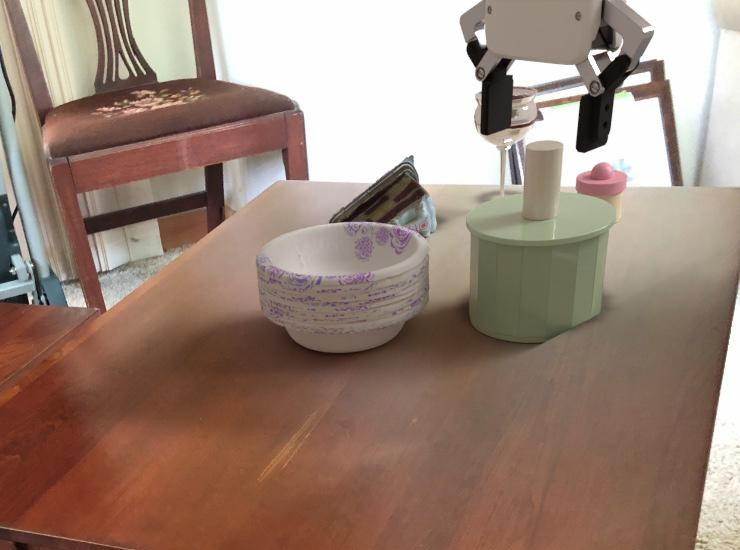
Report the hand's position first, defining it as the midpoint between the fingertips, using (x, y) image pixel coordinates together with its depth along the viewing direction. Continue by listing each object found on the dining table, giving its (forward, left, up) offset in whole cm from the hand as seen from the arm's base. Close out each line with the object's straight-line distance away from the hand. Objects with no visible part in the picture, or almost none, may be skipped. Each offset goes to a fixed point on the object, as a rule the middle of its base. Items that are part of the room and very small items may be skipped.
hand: (541, 139), depth 78 cm
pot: (0, 0, -15) cm, 15 cm away
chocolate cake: (+26, -7, -15) cm, 31 cm away
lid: (0, 0, -6) cm, 6 cm away
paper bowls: (+11, +13, -15) cm, 23 cm away
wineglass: (+22, -21, -15) cm, 34 cm away
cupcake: (+11, -24, -15) cm, 30 cm away
